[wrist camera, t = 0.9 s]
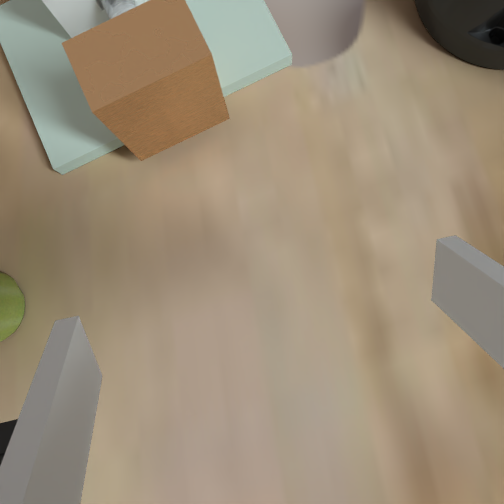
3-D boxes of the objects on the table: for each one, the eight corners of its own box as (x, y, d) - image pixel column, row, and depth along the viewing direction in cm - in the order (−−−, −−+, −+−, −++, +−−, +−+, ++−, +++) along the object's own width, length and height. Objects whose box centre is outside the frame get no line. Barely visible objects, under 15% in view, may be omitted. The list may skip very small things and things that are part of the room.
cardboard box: (164, -15, 36) (125, -120, 27) (229, 118, 34) (211, 54, 25) (80, 26, 36) (13, -65, 27) (141, 160, 34) (92, 112, 25)
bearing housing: (214, -83, 38) (195, -200, 29) (291, 64, 36) (295, -13, 27) (-2, 22, 38) (-87, -62, 29) (62, 174, 36) (-8, 134, 27)
